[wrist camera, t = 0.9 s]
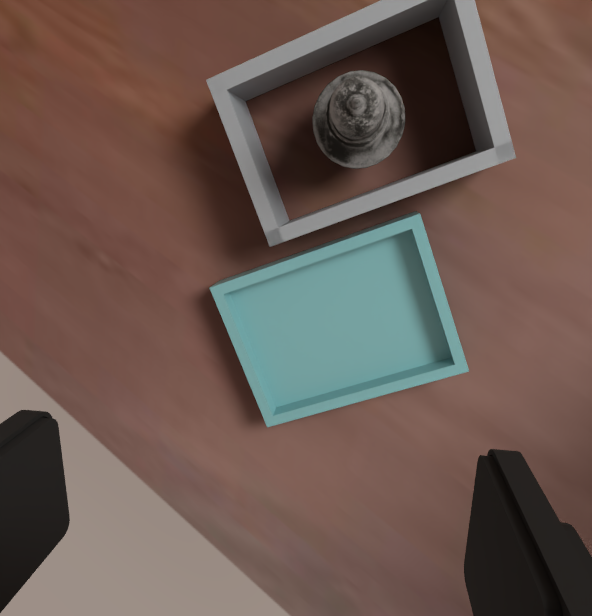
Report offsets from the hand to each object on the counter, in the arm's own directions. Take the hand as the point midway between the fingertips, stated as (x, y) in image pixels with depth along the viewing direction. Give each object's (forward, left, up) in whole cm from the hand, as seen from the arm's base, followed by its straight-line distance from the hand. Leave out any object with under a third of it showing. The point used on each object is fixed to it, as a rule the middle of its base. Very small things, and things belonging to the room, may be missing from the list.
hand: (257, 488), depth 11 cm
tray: (+1, +4, -28) cm, 28 cm away
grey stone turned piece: (-5, -9, -28) cm, 30 cm away
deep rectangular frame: (-5, -9, -28) cm, 30 cm away
